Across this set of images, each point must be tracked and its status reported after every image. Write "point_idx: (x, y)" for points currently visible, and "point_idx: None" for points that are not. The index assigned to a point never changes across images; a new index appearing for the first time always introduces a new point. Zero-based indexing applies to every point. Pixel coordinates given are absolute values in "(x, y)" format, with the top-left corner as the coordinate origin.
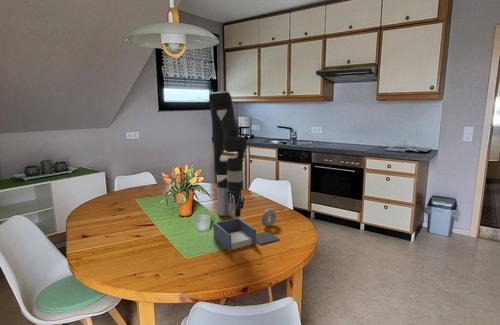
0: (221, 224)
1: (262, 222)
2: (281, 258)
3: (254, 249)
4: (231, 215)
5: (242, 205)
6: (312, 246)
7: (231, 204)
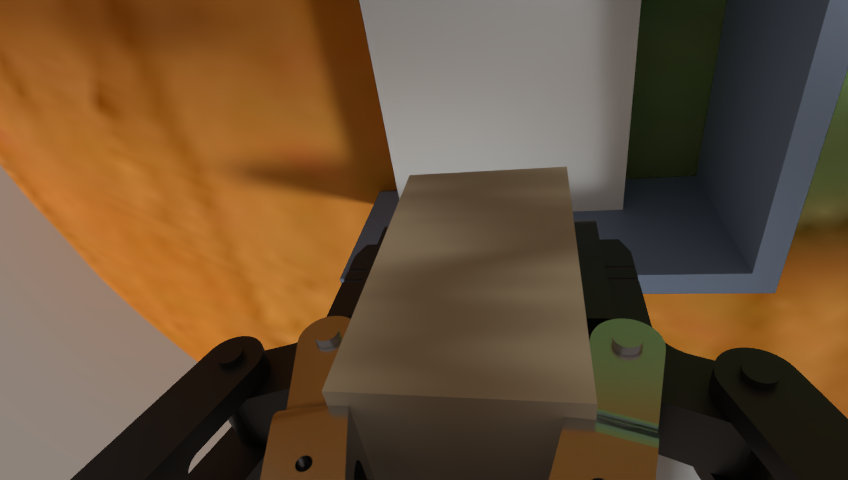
0: (800, 16)
1: None
2: (171, 252)
3: (325, 167)
4: (498, 181)
5: (197, 464)
6: None
7: (470, 348)
